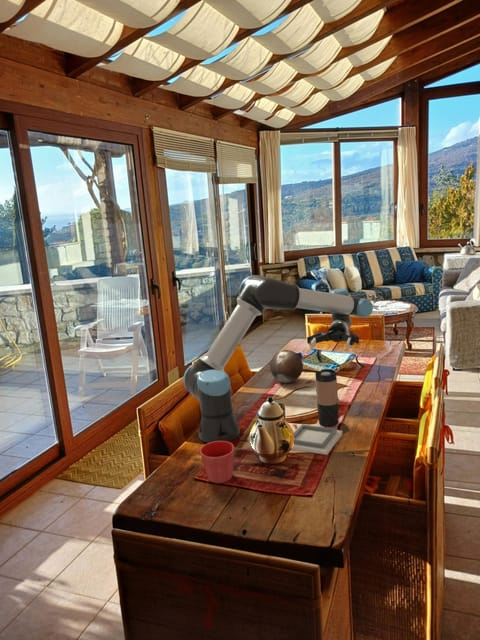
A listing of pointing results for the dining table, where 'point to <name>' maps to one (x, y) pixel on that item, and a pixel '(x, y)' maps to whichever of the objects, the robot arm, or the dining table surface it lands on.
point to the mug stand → (315, 439)
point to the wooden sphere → (286, 366)
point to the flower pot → (218, 460)
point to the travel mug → (327, 397)
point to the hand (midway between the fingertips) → (329, 346)
